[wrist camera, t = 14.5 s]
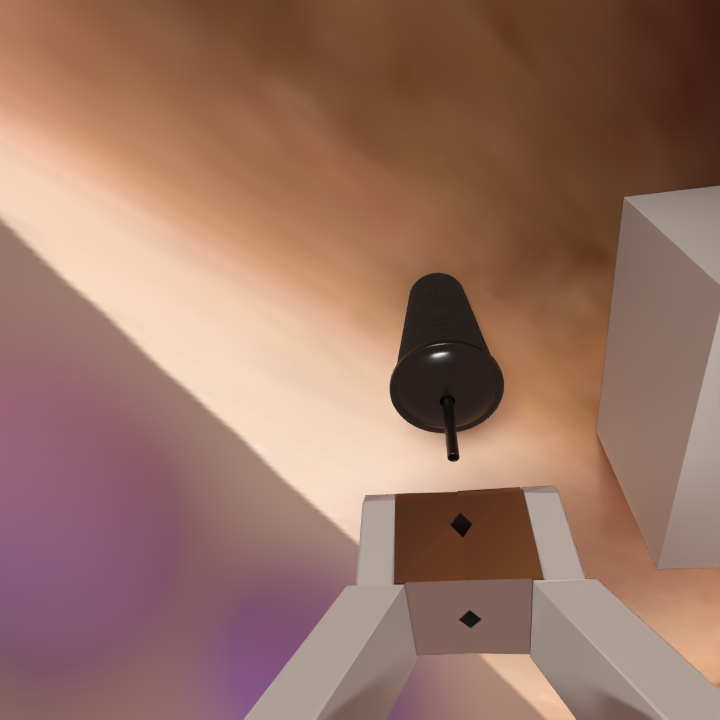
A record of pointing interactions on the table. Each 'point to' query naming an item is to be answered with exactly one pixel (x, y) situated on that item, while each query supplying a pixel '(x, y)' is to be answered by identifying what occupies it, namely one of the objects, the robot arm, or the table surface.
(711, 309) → the console
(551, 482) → the table surface
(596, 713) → the robot arm
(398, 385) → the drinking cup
